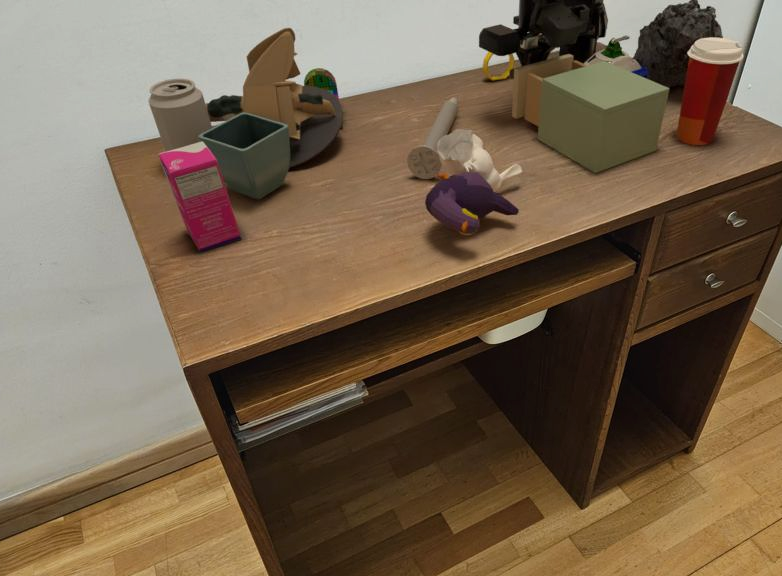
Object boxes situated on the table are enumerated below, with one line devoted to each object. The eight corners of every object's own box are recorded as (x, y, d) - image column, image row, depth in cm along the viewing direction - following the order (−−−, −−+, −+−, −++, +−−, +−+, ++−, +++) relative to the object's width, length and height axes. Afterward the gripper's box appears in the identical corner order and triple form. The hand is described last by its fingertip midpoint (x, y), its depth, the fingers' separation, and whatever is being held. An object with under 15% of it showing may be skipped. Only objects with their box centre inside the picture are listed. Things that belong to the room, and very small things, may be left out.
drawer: (494, 106, 110) (495, 59, 105) (545, 91, 115) (549, 45, 109) (560, 144, 100) (565, 93, 94) (614, 125, 104) (622, 76, 99)
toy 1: (227, 101, 107) (178, 15, 94) (342, 77, 105) (309, -14, 92) (216, 182, 97) (160, 99, 84) (343, 157, 95) (305, 68, 82)
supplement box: (185, 233, 85) (156, 151, 77) (229, 219, 87) (205, 139, 79) (197, 254, 81) (168, 171, 73) (243, 239, 84) (219, 157, 76)
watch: (487, 84, 120) (488, 51, 116) (480, 79, 122) (481, 46, 117) (515, 78, 122) (517, 45, 117) (508, 73, 123) (509, 41, 119)
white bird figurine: (468, 171, 81) (505, 218, 88) (507, 127, 82) (541, 177, 88) (421, 151, 90) (458, 195, 97) (456, 110, 90) (490, 157, 97)
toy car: (650, 96, 114) (661, 39, 107) (598, 111, 110) (606, 53, 103) (614, 79, 120) (623, 25, 113) (563, 93, 115) (569, 37, 109)
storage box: (537, 139, 103) (542, 78, 96) (596, 119, 108) (604, 60, 101) (595, 173, 95) (604, 109, 88) (656, 150, 99) (669, 88, 93)
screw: (444, 118, 114) (471, 111, 112) (414, 182, 95) (445, 174, 93) (435, 90, 111) (462, 82, 109) (402, 150, 92) (434, 142, 90)
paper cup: (714, 127, 105) (739, 36, 95) (724, 149, 99) (751, 54, 90) (665, 126, 105) (685, 35, 96) (672, 147, 100) (694, 53, 90)
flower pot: (259, 211, 89) (243, 150, 82) (214, 195, 92) (195, 135, 86) (301, 183, 94) (289, 124, 88) (257, 169, 97) (243, 111, 91)
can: (230, 155, 101) (209, 78, 92) (203, 178, 96) (178, 98, 87) (190, 149, 103) (165, 73, 94) (160, 171, 97) (132, 92, 89)
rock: (714, 107, 111) (743, 14, 100) (633, 104, 112) (653, 10, 101) (695, 71, 123) (719, -17, 112) (623, 68, 123) (639, -19, 113)
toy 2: (490, 239, 88) (524, 213, 83) (438, 257, 80) (472, 228, 75) (450, 172, 89) (481, 142, 84) (394, 182, 80) (425, 149, 76)
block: (293, 111, 113) (285, 71, 108) (339, 106, 114) (333, 66, 109) (293, 139, 104) (284, 97, 99) (343, 133, 105) (337, 91, 100)
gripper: (523, 5, 89) (517, 115, 100) (621, -18, 97) (606, 87, 107) (477, -12, 96) (476, 92, 107) (572, -32, 103) (562, 68, 114)
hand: (532, 85), depth 109 cm, fingers closed, pressing on drawer
